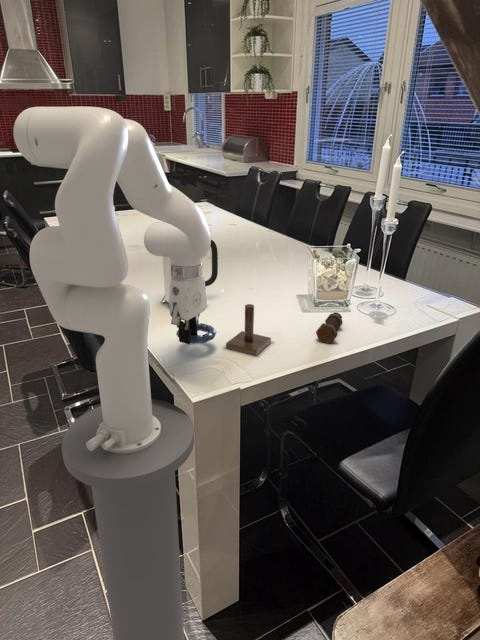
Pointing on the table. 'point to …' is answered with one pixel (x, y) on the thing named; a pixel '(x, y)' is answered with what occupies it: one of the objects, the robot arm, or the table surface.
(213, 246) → the coffee press
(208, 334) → the ring
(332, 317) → the bolt
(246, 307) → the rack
